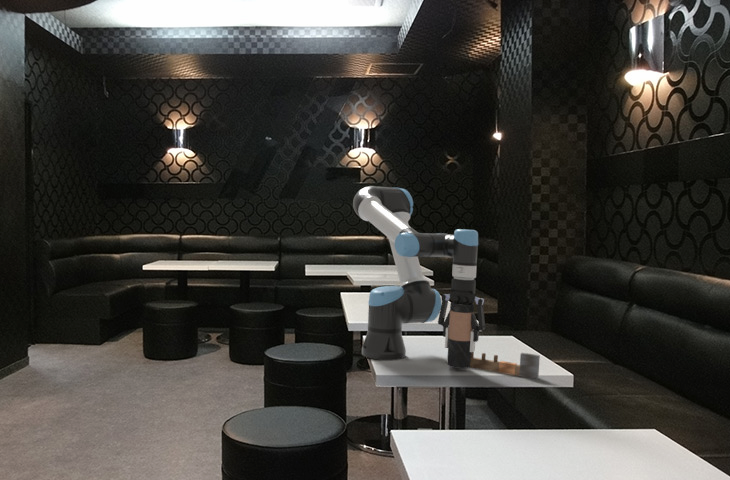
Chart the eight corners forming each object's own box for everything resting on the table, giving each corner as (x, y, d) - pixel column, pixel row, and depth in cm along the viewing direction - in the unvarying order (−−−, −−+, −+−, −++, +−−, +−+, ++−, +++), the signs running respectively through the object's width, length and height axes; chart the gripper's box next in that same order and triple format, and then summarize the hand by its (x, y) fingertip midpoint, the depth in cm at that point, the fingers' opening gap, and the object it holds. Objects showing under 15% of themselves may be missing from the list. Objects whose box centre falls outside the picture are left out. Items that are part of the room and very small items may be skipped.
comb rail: (446, 363, 199) (448, 342, 199) (449, 362, 201) (450, 341, 200) (537, 378, 185) (538, 356, 184) (538, 377, 186) (539, 355, 186)
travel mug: (470, 369, 188) (474, 306, 187) (445, 367, 189) (449, 304, 188) (471, 363, 195) (474, 302, 194) (447, 361, 197) (450, 300, 196)
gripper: (429, 275, 192) (425, 346, 194) (491, 282, 182) (487, 356, 184) (438, 274, 199) (434, 342, 200) (498, 280, 189) (494, 352, 190)
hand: (459, 349), depth 192 cm, fingers closed on travel mug, 8 cm apart
